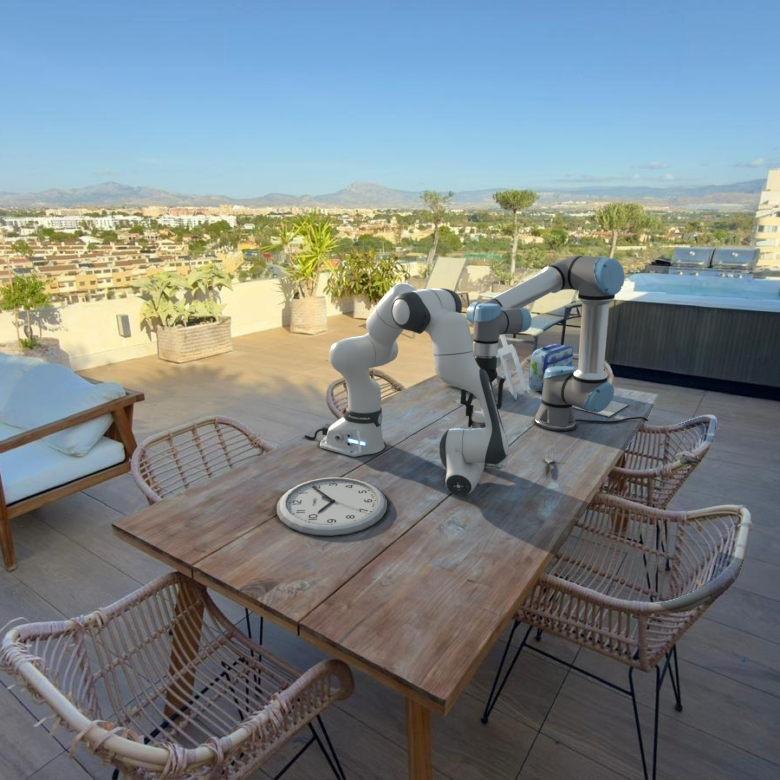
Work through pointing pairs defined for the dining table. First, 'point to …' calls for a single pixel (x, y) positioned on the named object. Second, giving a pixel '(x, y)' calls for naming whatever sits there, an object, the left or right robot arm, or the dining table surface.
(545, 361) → the lunch box
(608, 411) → the invitation card
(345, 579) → the dining table surface
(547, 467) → the fork
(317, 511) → the wall clock
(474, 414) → the lid
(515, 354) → the white plastic object
